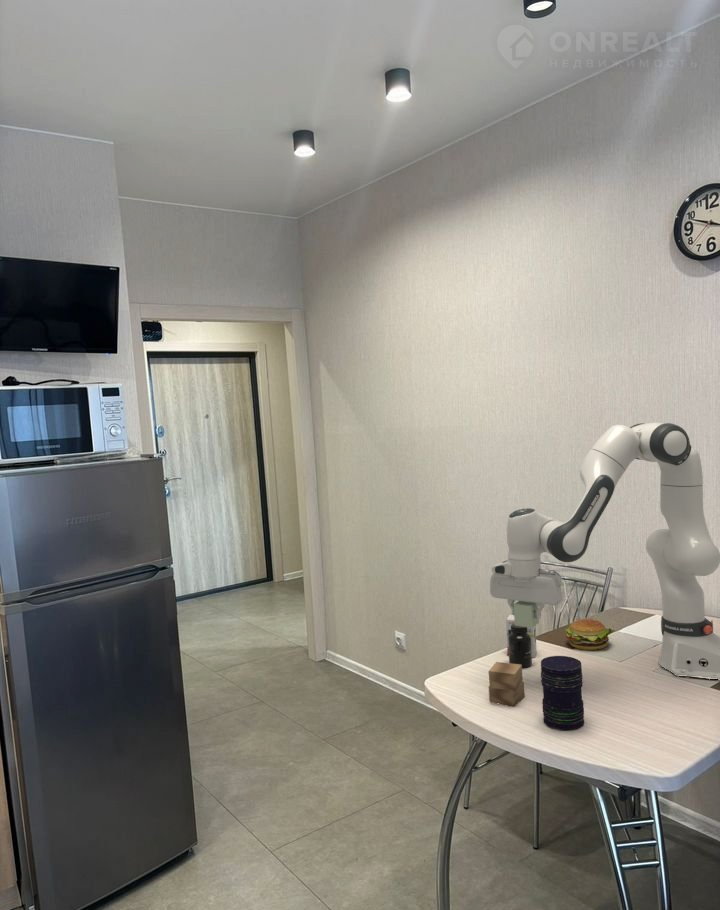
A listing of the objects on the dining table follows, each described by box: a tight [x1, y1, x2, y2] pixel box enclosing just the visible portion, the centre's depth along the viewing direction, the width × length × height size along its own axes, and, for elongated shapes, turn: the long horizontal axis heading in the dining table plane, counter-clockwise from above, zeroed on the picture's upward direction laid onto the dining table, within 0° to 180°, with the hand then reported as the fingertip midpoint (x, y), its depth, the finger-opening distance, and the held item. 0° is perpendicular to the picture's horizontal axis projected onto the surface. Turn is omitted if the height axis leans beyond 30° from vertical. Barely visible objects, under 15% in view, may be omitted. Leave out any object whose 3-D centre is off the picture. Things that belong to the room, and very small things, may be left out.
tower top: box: [488, 661, 524, 691], centre depth 186 cm, size 7×7×4 cm
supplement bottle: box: [508, 624, 533, 669], centre depth 211 cm, size 7×7×12 cm
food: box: [564, 618, 612, 651], centre depth 224 cm, size 14×14×8 cm
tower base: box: [488, 681, 526, 708], centre depth 187 cm, size 7×7×4 cm
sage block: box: [514, 601, 540, 628], centre depth 194 cm, size 5×5×6 cm
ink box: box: [506, 614, 538, 658], centre depth 219 cm, size 9×5×12 cm, turn 68°
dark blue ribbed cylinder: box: [540, 655, 585, 732], centre depth 172 cm, size 10×10×15 cm
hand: (526, 616), depth 194 cm, fingers closed on sage block, 5 cm apart
